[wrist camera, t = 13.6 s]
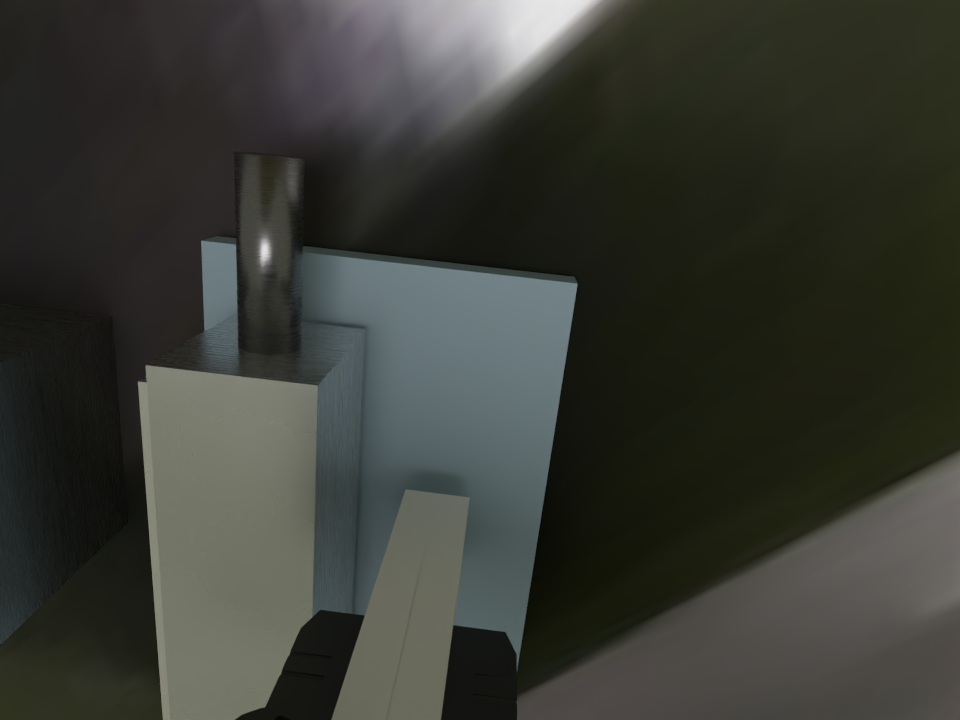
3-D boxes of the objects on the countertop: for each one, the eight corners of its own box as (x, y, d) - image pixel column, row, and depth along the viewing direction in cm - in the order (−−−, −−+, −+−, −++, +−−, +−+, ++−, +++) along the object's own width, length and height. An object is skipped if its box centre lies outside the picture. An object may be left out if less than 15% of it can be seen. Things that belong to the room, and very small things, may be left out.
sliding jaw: (348, 676, 17) (307, 804, 14) (227, 660, 17) (157, 785, 14) (373, 162, 13) (322, 167, 10) (212, 145, 13) (104, 142, 10)
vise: (508, 703, 19) (505, 878, 14) (-223, 609, 19) (-451, 750, 15) (574, 277, 15) (600, 332, 10) (-358, 170, 15) (-732, 178, 11)
